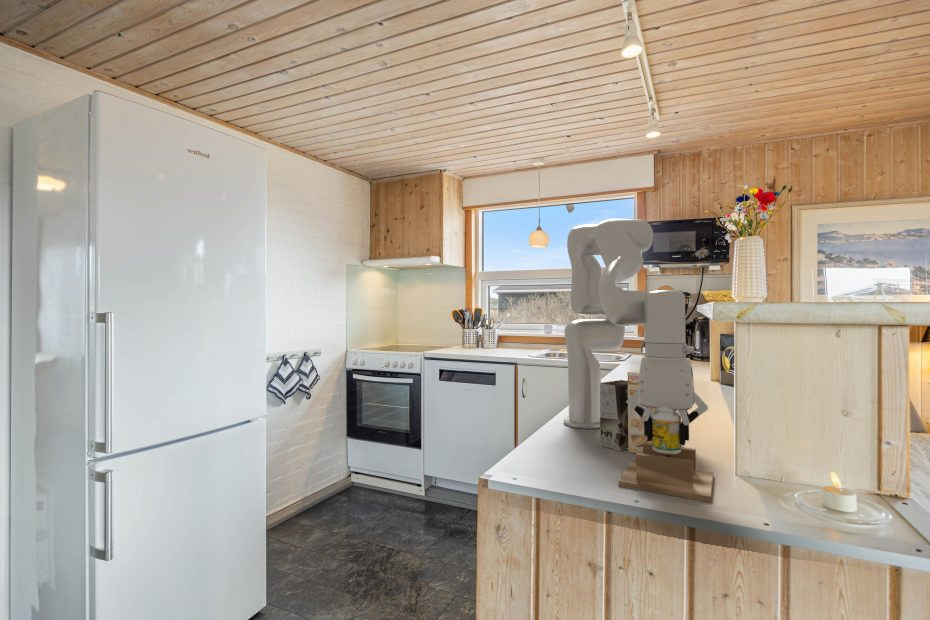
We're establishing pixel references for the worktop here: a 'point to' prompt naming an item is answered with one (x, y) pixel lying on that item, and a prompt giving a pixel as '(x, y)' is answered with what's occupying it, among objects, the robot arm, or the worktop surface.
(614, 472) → the worktop surface
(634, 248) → the robot arm
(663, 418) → the supplement bottle
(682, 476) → the holder
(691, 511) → the worktop surface
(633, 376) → the coffeecake box
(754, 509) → the worktop surface
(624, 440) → the coffee box
